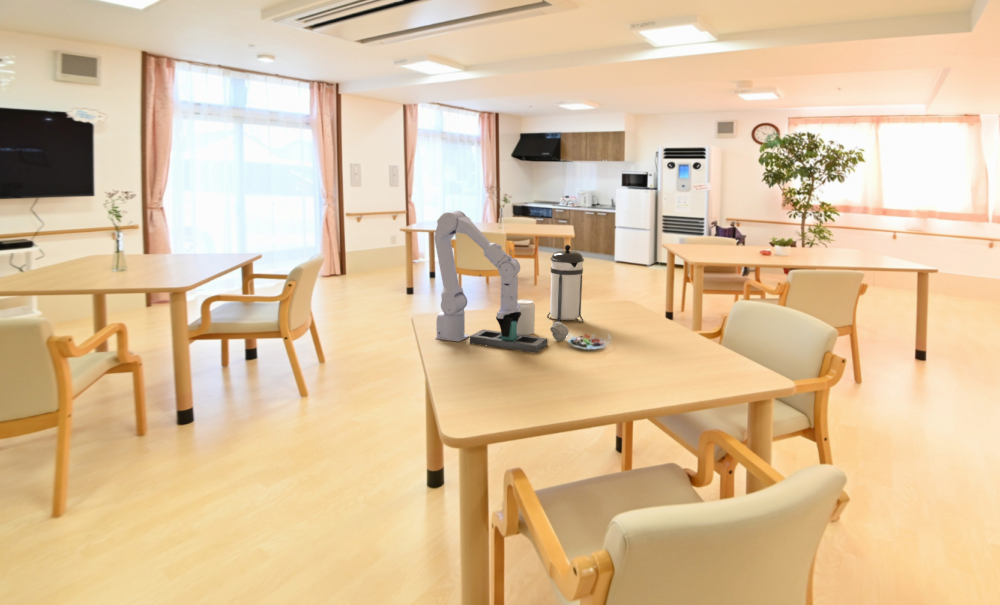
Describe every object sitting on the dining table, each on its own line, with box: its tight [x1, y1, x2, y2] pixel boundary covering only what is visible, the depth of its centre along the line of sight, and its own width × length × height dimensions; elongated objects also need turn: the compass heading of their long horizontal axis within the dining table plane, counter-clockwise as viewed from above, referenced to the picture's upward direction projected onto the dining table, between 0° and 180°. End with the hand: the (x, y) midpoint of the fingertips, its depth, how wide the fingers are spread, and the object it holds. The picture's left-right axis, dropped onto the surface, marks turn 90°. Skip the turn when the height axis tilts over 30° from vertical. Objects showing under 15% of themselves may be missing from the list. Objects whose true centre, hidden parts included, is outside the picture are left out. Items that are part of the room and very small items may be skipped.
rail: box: [469, 328, 548, 354], centre depth 204 cm, size 24×10×2 cm, turn 65°
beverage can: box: [517, 298, 536, 336], centre depth 217 cm, size 8×8×12 cm
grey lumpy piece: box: [550, 321, 570, 342], centre depth 209 cm, size 6×7×7 cm
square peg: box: [501, 321, 517, 341], centre depth 204 cm, size 4×4×8 cm
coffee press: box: [546, 244, 585, 324], centre depth 236 cm, size 17×16×30 cm
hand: (508, 334), depth 204 cm, fingers open, 4 cm apart
